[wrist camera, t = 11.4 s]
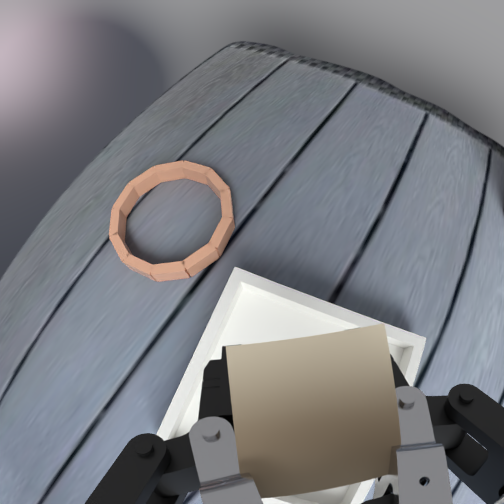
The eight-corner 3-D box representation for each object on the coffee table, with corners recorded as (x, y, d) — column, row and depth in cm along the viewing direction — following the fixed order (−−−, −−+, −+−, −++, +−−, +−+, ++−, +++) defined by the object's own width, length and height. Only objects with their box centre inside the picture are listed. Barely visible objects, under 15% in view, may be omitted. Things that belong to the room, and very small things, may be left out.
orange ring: (155, 161, 37) (150, 151, 35) (253, 191, 34) (252, 180, 32) (97, 252, 32) (89, 245, 30) (198, 300, 30) (194, 294, 28)
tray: (238, 277, 30) (234, 266, 28) (412, 343, 27) (426, 338, 24) (159, 447, 24) (147, 453, 21) (341, 515, 20) (348, 527, 18)
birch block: (248, 367, 16) (225, 346, 8) (325, 356, 16) (384, 322, 7) (257, 441, 14) (243, 499, 6) (335, 429, 14) (403, 469, 6)
